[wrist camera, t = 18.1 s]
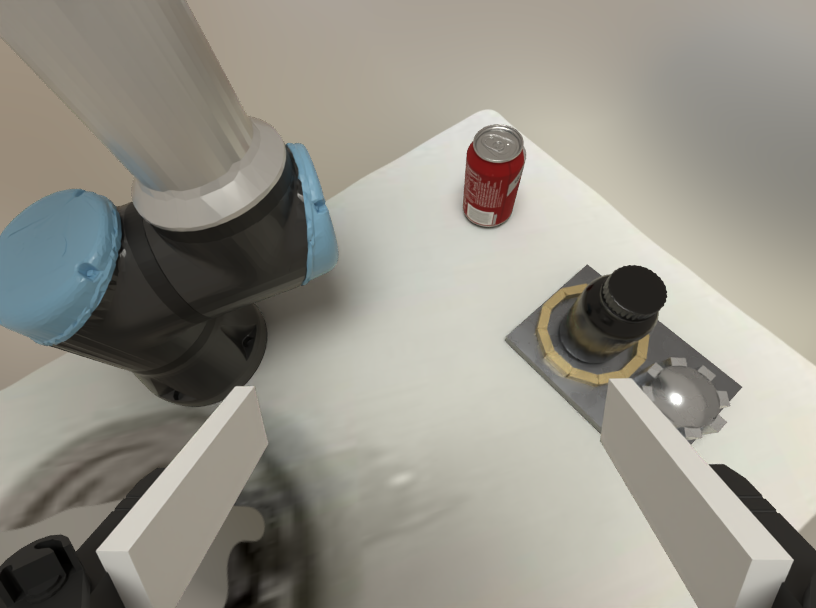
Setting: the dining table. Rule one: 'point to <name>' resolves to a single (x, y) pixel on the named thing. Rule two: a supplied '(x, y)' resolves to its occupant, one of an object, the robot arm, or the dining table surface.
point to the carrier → (626, 368)
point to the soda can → (493, 174)
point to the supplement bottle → (613, 314)
